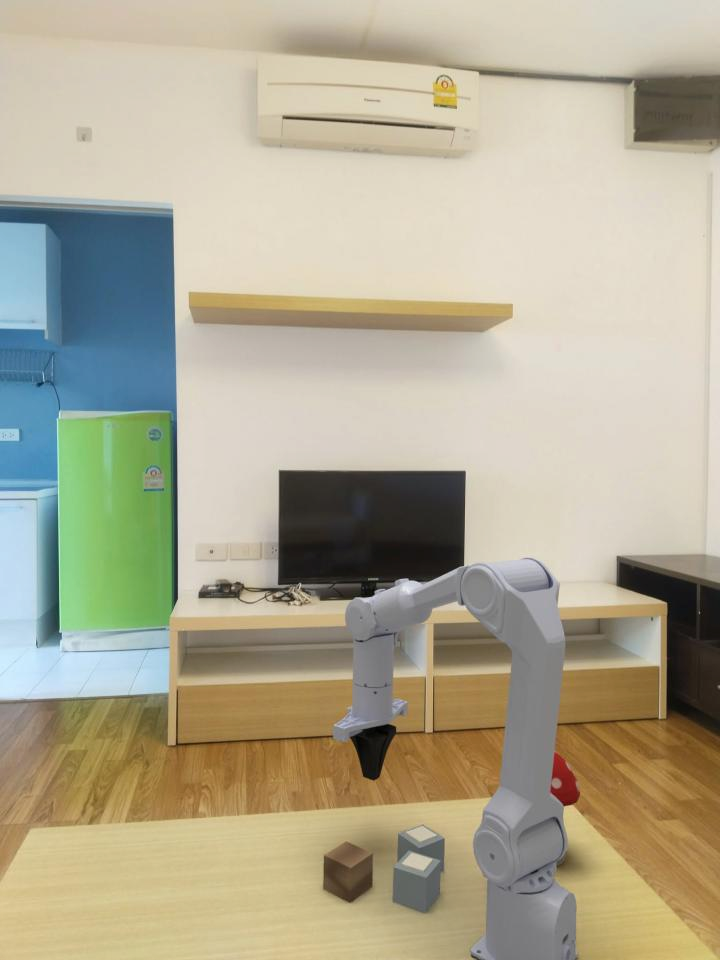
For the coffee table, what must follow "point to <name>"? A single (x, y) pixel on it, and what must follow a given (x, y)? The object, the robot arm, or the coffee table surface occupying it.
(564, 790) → the decorative mushroom
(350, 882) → the plain walnut block
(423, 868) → the labelled block
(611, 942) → the coffee table surface
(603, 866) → the coffee table surface
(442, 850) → the labelled block
